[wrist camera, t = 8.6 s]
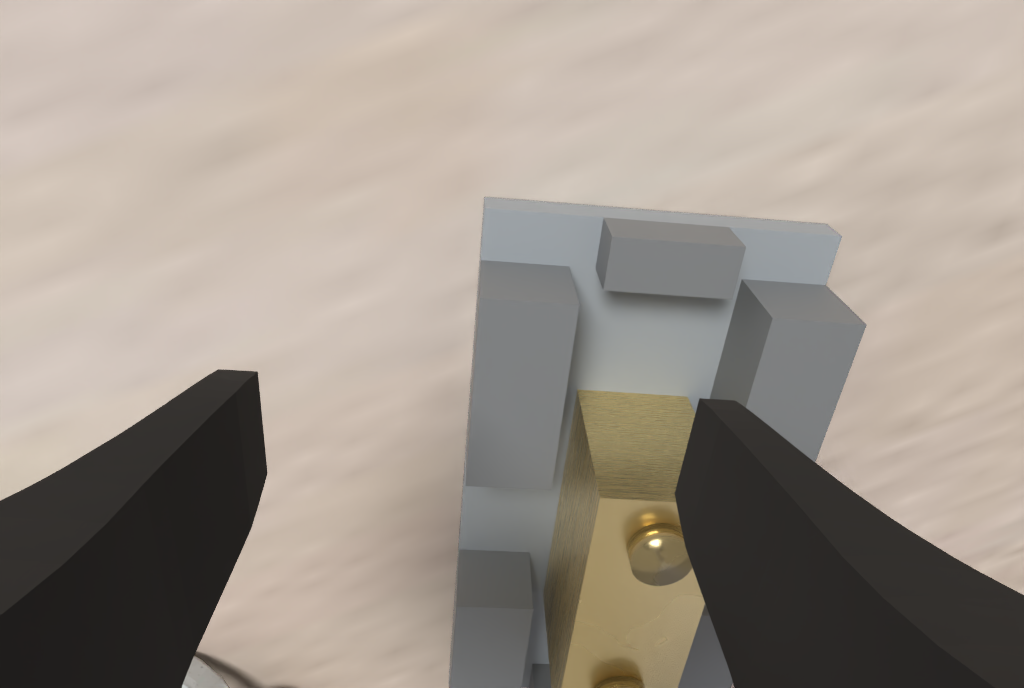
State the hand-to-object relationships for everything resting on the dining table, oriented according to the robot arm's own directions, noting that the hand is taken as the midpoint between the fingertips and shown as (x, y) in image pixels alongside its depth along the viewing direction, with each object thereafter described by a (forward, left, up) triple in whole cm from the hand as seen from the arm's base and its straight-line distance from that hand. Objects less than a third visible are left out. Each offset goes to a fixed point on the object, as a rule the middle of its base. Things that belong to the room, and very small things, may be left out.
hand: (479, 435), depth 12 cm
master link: (-5, +9, -9) cm, 14 cm away
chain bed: (-5, +9, -10) cm, 14 cm away
